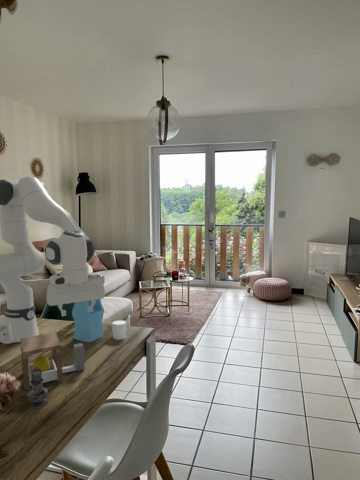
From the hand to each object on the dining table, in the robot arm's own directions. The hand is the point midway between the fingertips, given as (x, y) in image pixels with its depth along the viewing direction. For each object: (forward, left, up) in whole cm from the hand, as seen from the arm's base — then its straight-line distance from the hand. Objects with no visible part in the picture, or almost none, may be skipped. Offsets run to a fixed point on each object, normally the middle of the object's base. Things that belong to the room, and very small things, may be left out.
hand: (77, 313), depth 132 cm
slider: (-5, -6, -21) cm, 22 cm away
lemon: (-9, -10, -21) cm, 25 cm away
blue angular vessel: (-17, +27, -21) cm, 38 cm away
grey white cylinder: (-3, +32, -21) cm, 39 cm away
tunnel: (-9, -10, -21) cm, 25 cm away
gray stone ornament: (+2, -23, -21) cm, 32 cm away
